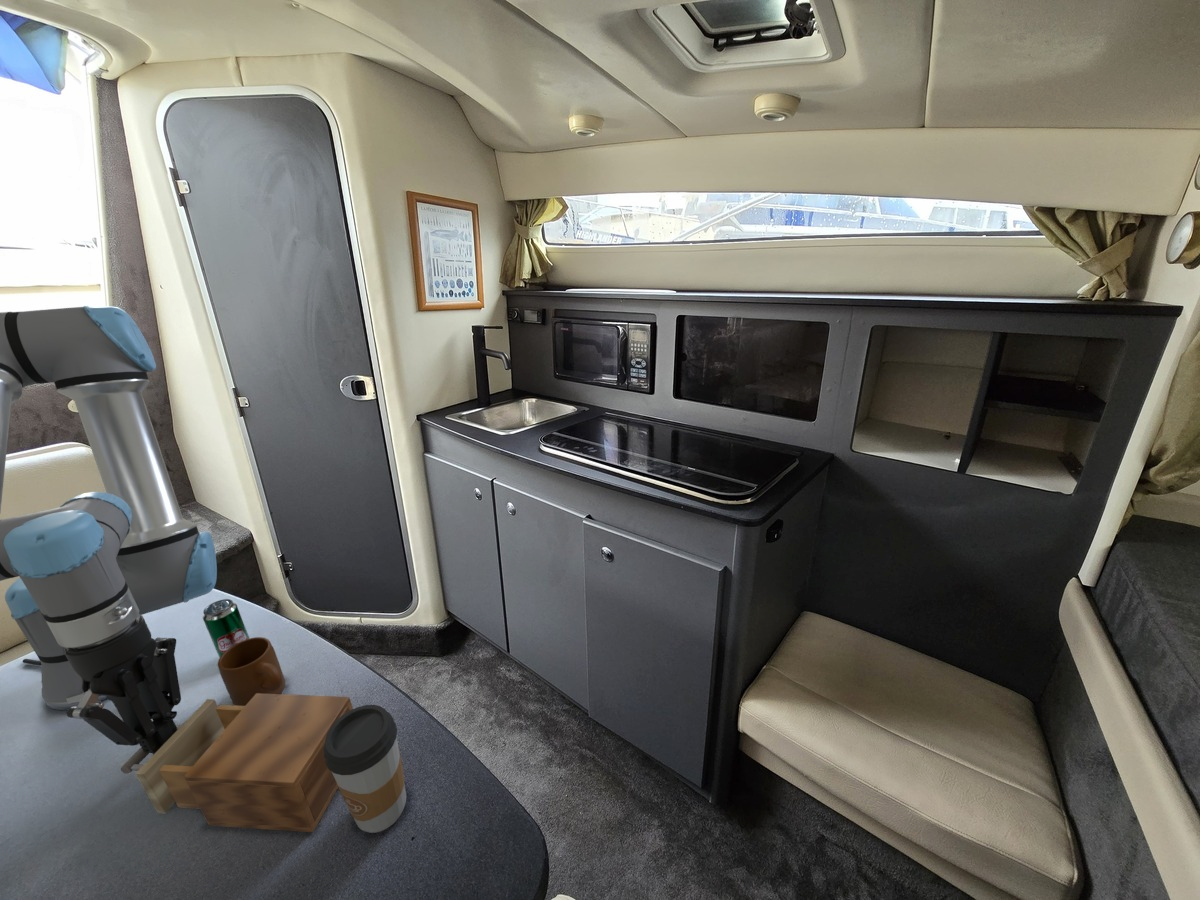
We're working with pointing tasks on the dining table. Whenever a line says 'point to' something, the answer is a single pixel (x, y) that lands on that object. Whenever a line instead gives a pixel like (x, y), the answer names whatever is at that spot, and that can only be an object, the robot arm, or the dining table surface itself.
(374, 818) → the coffee cup
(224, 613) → the soda can
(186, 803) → the drawer
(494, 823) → the dining table surface
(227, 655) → the mug
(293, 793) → the cabinet
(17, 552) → the robot arm
